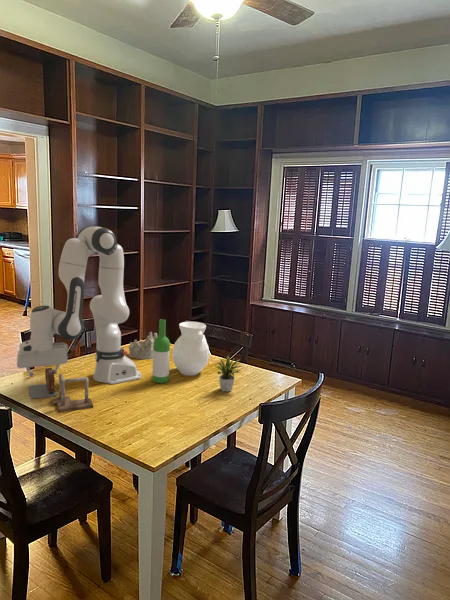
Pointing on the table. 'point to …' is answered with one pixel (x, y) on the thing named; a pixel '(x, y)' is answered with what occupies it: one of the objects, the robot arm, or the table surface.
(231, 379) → the house plant
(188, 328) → the white ceramic vase
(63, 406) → the buzz wire frame
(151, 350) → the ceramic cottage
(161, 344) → the wine bottle
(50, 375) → the tin
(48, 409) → the table surface
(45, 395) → the mat
